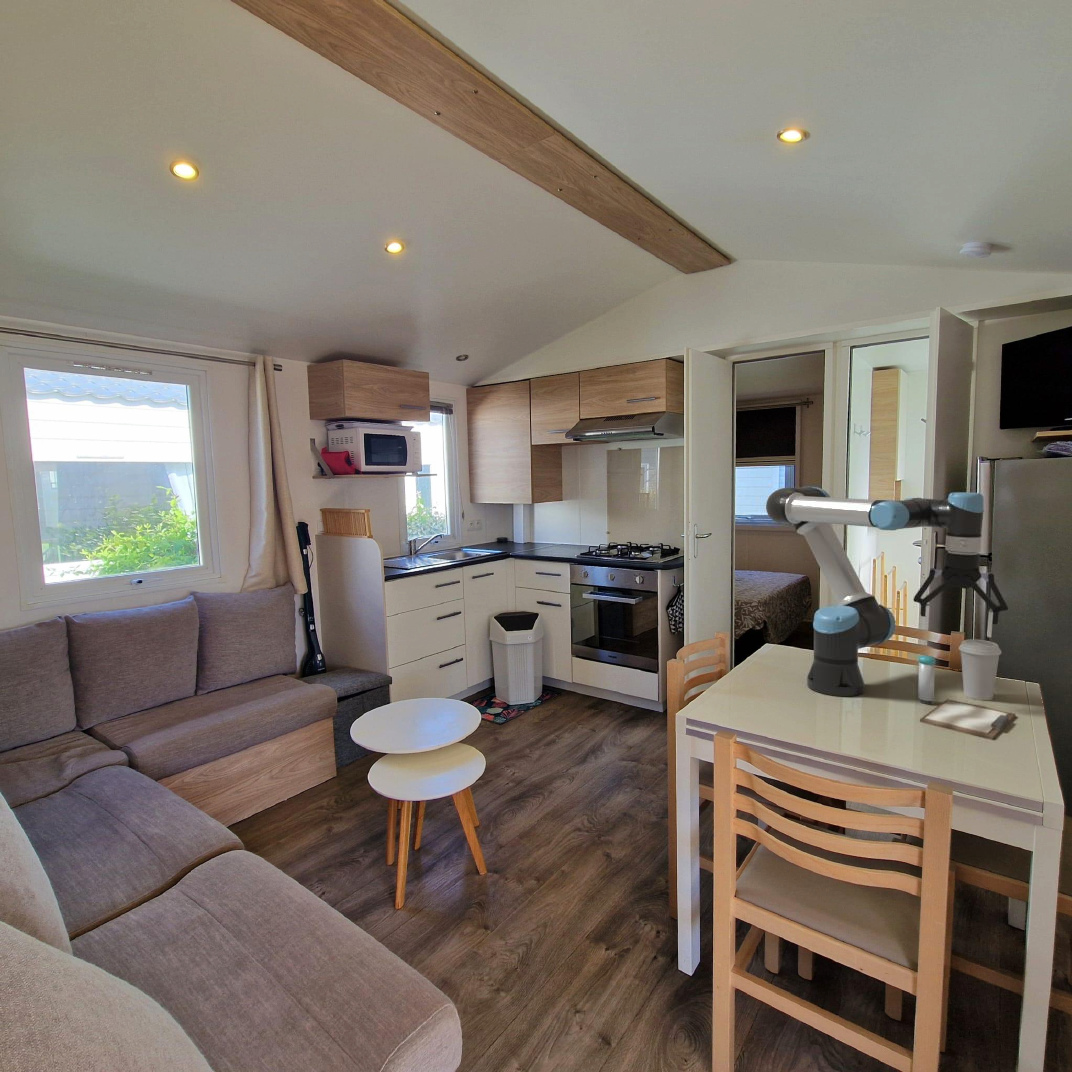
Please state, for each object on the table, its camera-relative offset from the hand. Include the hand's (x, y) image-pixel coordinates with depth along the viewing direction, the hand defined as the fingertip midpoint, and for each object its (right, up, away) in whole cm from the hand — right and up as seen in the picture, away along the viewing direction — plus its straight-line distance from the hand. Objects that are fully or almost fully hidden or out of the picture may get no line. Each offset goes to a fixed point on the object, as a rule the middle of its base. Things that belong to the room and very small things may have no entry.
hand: (957, 632), depth 161 cm
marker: (-5, -20, +5) cm, 21 cm away
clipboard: (-2, -21, -7) cm, 22 cm away
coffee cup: (+12, -19, +8) cm, 24 cm away
